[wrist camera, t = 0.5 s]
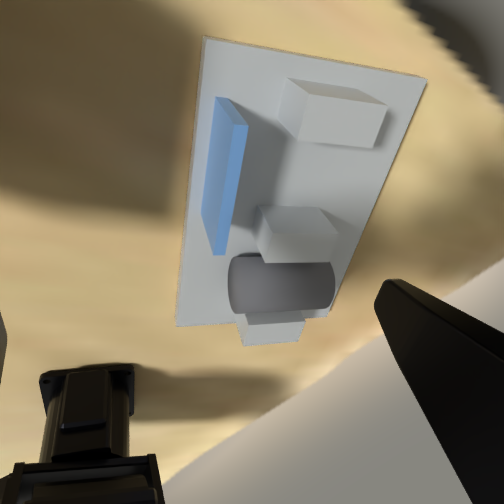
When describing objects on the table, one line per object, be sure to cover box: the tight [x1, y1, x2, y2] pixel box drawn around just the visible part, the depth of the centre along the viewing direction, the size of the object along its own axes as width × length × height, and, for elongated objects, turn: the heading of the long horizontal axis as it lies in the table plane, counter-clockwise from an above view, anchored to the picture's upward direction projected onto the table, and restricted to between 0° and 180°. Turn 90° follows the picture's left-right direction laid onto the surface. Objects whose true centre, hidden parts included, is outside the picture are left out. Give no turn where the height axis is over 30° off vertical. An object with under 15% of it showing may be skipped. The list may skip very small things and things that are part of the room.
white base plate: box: [175, 36, 428, 346], centre depth 22 cm, size 18×12×5 cm, turn 169°
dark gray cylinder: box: [228, 257, 335, 314], centre depth 24 cm, size 6×4×4 cm, turn 79°
